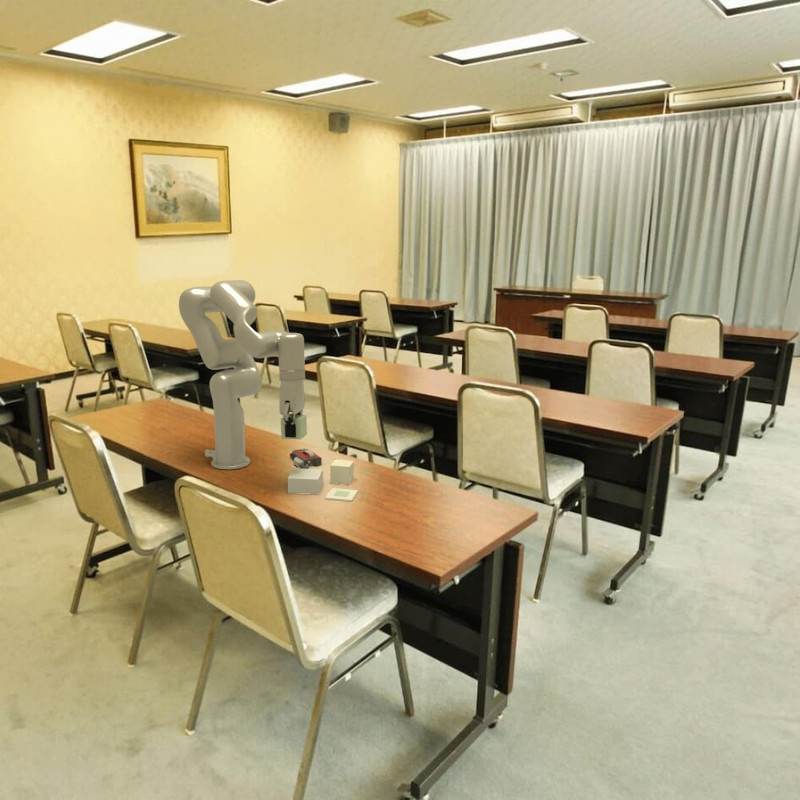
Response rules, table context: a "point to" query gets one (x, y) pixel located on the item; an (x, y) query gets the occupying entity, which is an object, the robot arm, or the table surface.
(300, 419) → the sage cube
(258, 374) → the robot arm
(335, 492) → the card
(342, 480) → the cream cube
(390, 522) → the table surface
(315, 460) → the walkie-talkie
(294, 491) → the base block
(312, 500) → the table surface
